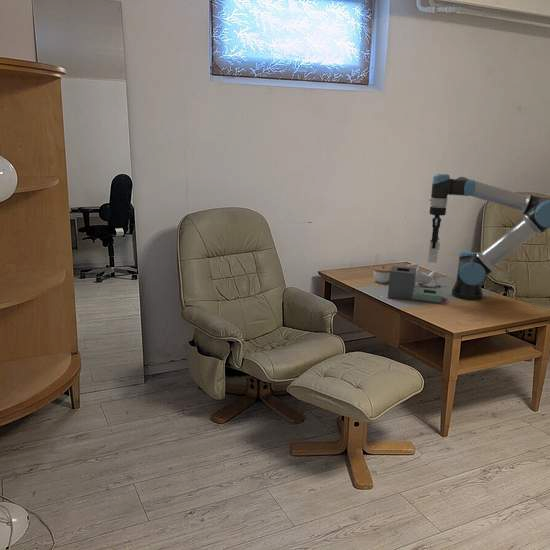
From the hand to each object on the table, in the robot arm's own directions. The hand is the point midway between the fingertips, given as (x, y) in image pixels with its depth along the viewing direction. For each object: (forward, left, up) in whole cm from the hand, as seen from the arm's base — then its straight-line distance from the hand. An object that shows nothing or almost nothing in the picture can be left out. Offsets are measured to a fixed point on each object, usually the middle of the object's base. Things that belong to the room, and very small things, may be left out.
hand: (433, 253), depth 267 cm
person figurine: (+5, -25, -24) cm, 35 cm away
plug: (0, 0, -4) cm, 4 cm away
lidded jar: (+27, -24, -24) cm, 43 cm away
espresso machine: (+7, 0, -24) cm, 25 cm away
